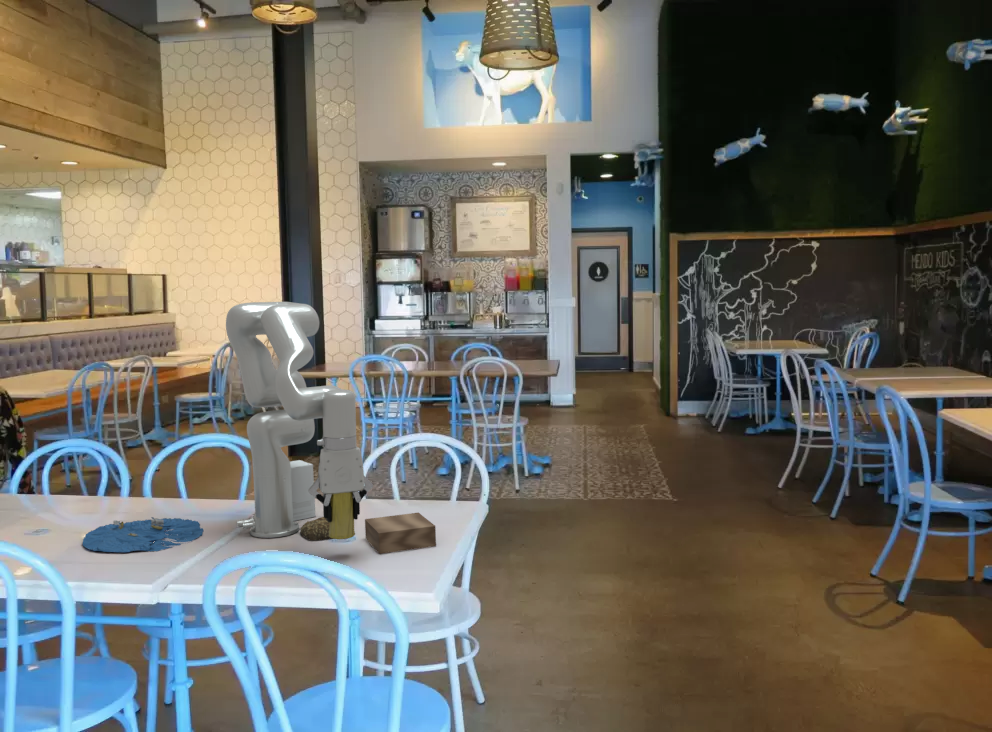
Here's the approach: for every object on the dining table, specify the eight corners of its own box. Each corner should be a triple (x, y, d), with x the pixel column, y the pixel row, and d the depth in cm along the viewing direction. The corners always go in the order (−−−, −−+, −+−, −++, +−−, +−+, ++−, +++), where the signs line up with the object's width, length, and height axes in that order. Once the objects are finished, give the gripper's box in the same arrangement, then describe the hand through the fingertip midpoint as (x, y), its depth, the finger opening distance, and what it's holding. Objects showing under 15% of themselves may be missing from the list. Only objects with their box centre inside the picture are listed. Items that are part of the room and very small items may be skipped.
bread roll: (305, 544, 213) (304, 524, 213) (297, 531, 225) (296, 512, 224) (356, 537, 218) (355, 518, 218) (346, 525, 229) (345, 507, 229)
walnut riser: (379, 553, 203) (378, 533, 202) (365, 538, 215) (364, 519, 215) (436, 546, 208) (435, 525, 207) (419, 531, 221) (418, 512, 220)
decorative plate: (229, 530, 233) (229, 511, 232) (158, 563, 204) (158, 541, 204) (137, 520, 241) (136, 501, 240) (55, 550, 212) (55, 529, 211)
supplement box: (302, 510, 245) (300, 459, 243) (316, 517, 238) (314, 463, 236) (272, 516, 239) (269, 463, 238) (285, 523, 232) (283, 468, 231)
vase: (329, 540, 197) (328, 479, 195) (327, 532, 203) (326, 473, 201) (356, 538, 198) (355, 478, 197) (353, 530, 204) (352, 472, 203)
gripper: (305, 449, 192) (307, 528, 194) (380, 443, 198) (381, 519, 200) (299, 443, 199) (302, 519, 200) (372, 437, 205) (373, 511, 207)
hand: (341, 518), depth 200 cm, fingers closed on vase, 5 cm apart
